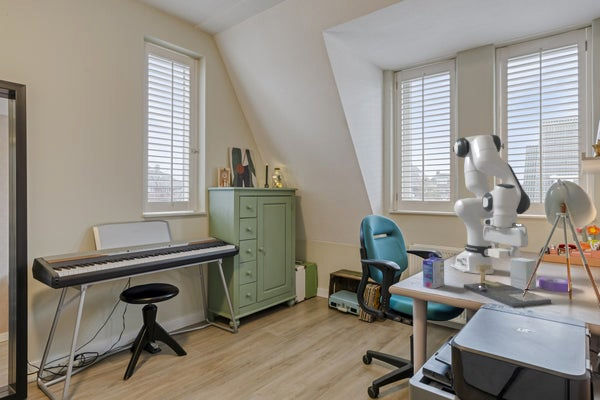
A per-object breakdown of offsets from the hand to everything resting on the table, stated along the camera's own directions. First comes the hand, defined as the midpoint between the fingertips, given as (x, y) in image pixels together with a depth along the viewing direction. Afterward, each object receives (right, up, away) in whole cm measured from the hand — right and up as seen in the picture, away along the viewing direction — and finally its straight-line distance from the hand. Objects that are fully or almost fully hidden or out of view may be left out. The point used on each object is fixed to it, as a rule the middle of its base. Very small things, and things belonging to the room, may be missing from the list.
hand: (504, 254), depth 147 cm
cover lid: (0, -1, 0) cm, 1 cm away
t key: (-9, -13, -5) cm, 16 cm away
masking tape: (+26, -16, +6) cm, 31 cm away
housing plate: (-2, -16, -4) cm, 17 cm away
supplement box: (+12, -16, +7) cm, 21 cm away
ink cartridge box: (-26, -16, +10) cm, 32 cm away
